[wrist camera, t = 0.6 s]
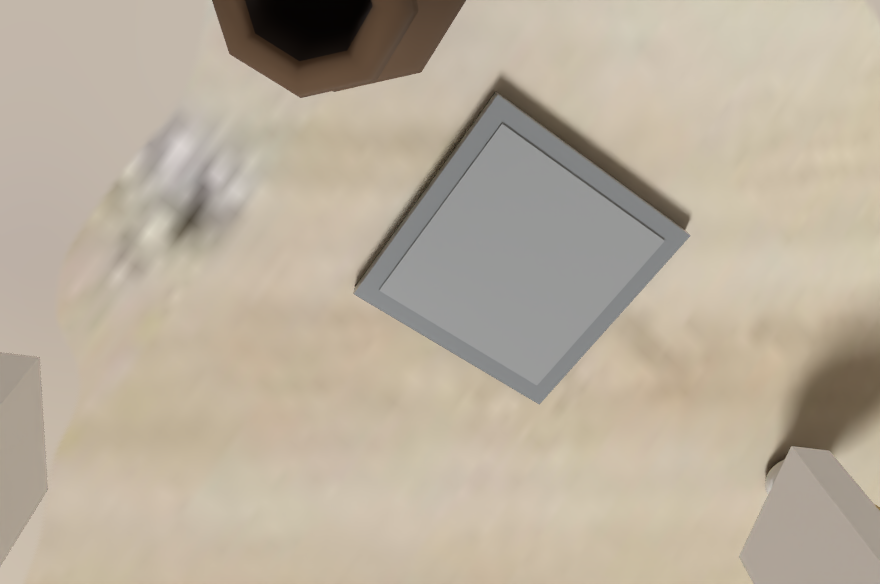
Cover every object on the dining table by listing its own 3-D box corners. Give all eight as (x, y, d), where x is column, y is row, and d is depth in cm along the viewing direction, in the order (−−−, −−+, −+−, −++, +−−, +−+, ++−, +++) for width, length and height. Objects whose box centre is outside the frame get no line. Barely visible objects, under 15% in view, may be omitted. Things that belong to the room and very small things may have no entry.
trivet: (354, 287, 41) (353, 294, 40) (496, 91, 37) (498, 94, 36) (537, 396, 45) (539, 405, 44) (685, 230, 40) (691, 236, 40)
